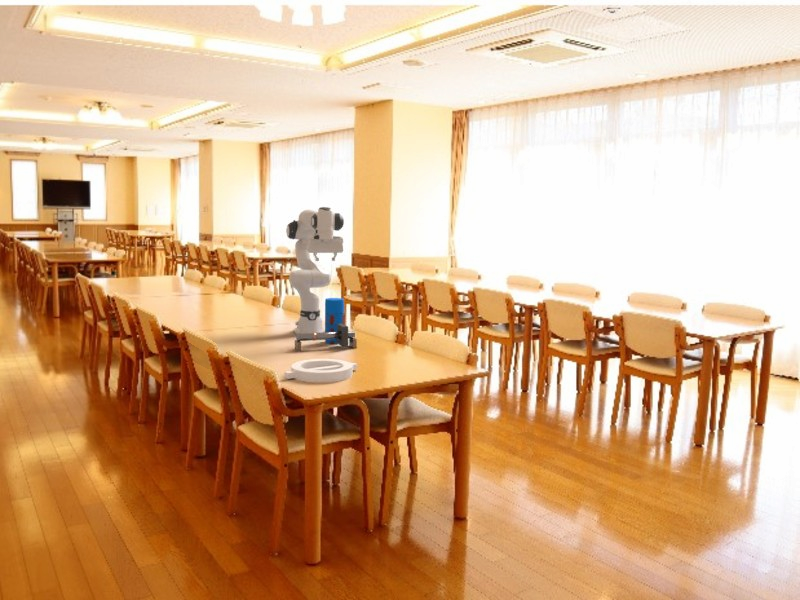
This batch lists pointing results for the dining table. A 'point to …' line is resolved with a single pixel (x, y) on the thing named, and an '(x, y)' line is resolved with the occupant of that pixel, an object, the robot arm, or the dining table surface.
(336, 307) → the thermos
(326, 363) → the ring with crossbar
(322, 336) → the pipe rig
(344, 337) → the collar
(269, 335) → the dining table surface
